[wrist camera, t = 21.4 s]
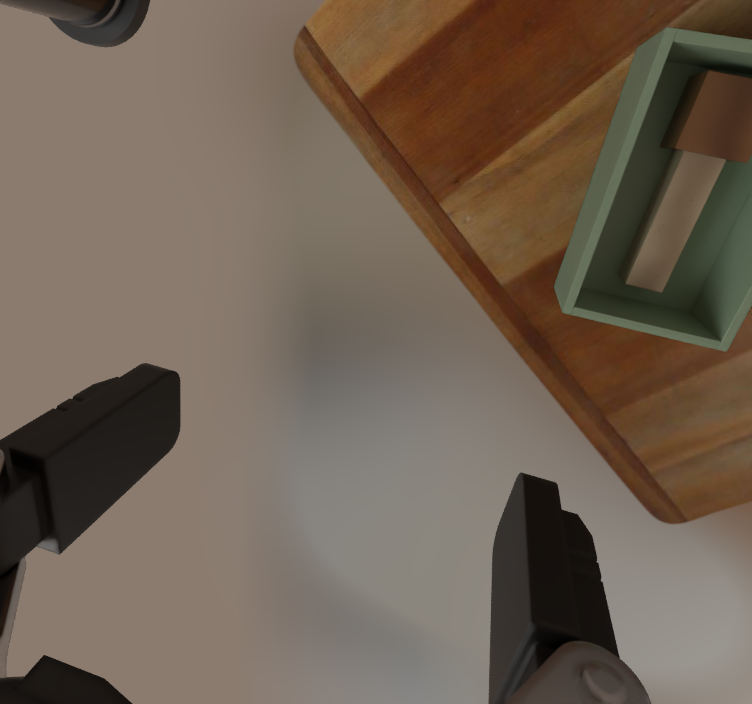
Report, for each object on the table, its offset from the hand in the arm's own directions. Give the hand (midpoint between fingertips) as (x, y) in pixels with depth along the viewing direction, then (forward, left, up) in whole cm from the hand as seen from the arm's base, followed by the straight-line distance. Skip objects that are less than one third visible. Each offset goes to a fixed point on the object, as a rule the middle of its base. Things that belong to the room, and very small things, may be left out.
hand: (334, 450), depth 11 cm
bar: (+16, +5, -37) cm, 41 cm away
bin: (+16, +5, -38) cm, 42 cm away
